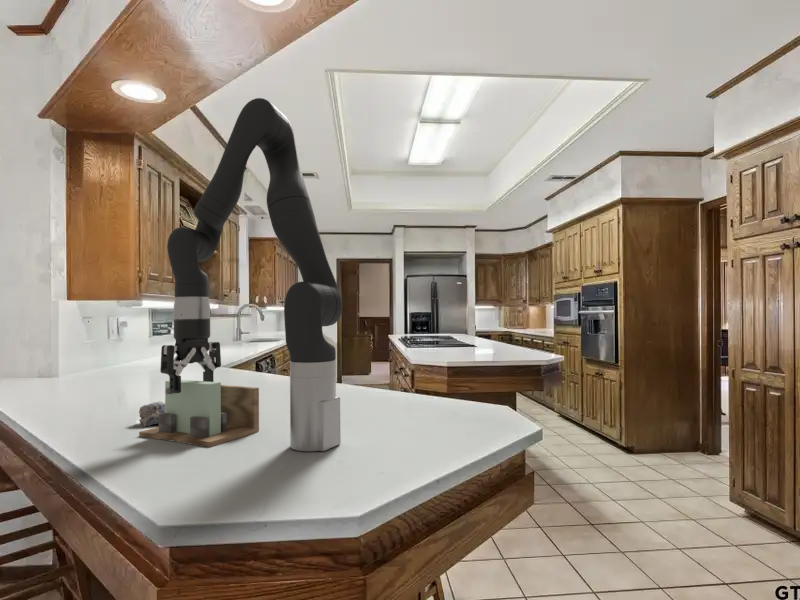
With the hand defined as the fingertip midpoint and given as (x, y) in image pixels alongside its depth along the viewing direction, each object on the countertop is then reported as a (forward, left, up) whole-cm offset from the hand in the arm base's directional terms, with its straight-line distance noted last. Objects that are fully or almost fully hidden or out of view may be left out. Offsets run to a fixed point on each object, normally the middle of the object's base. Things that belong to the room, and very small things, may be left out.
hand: (192, 390), depth 104 cm
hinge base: (0, -2, -10) cm, 10 cm away
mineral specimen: (+20, -7, -11) cm, 24 cm away
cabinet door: (0, 0, -9) cm, 9 cm away
